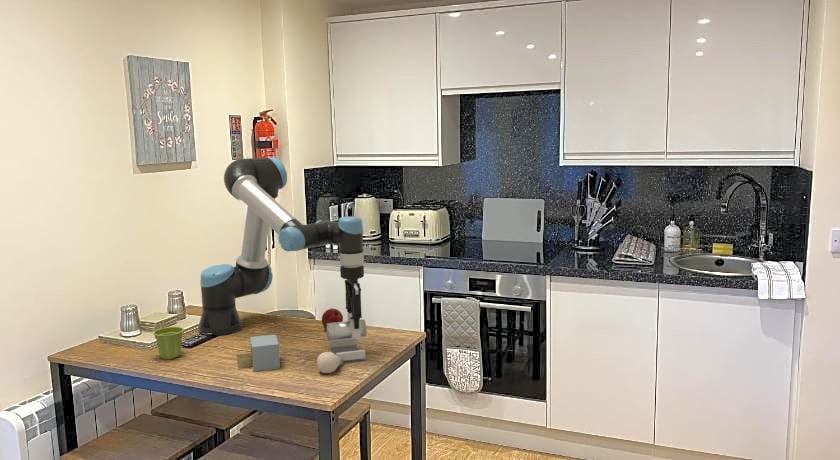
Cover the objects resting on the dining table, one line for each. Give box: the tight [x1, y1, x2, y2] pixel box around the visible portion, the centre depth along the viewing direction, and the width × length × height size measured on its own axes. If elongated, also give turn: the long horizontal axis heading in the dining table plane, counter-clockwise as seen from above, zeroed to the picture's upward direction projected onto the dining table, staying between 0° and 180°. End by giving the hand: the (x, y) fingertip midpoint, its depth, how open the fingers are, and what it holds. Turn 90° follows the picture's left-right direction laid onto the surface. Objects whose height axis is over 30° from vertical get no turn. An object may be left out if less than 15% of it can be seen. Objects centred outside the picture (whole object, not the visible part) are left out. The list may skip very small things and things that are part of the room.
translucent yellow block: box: [236, 352, 253, 370], centre depth 204 cm, size 4×8×4 cm, turn 111°
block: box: [249, 334, 281, 372], centre depth 204 cm, size 10×8×8 cm
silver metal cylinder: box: [326, 319, 368, 342], centre depth 211 cm, size 12×6×6 cm, turn 107°
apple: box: [321, 307, 344, 330], centre depth 238 cm, size 7×8×8 cm
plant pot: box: [152, 326, 185, 360], centre depth 212 cm, size 9×9×9 cm
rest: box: [328, 338, 366, 364], centre depth 212 cm, size 14×9×3 cm, turn 18°
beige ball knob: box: [316, 351, 344, 374], centre depth 199 cm, size 7×7×11 cm
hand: (354, 334), depth 212 cm, fingers closed on silver metal cylinder, 6 cm apart
